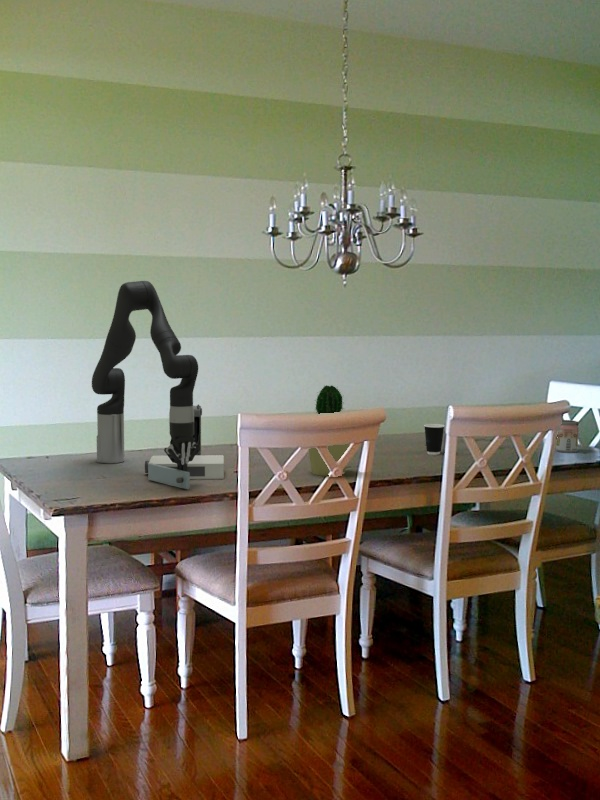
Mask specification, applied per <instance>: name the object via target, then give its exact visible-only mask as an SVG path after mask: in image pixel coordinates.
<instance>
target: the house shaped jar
mask: <svg viewBox="0 0 600 800" xmlns="http://www.w3.org/2000/svg"><path fill="white" fill-rule="evenodd" d="M561 420H562V424H561V426H560V429H559V432H558V438H557V445H556V444H555V450H556V451H557V452H559V453H565V454H573V453H574V454H575V453H577V451H578V449H579V424H580V422H579V421H577V420H571V419H561Z"/></svg>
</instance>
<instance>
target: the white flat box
mask: <svg viewBox="0 0 600 800" xmlns="http://www.w3.org/2000/svg"><path fill="white" fill-rule="evenodd" d="M190 456H191V455H190ZM184 458H185V457H184ZM224 460H225V456H224V455H223V454H221V455H220V454H218V455H217V454H215V455H214V454H213V455H212V454H211V455H209V454H207V455H206V454H205V455H203V454H201V455H195V456H194V458H193V460H192V461H189V462H188V464H187V472H190V480H224V479H225V477H224V476H225V475H224V473H225V467H224V466H225V465H224ZM149 463H153V464H156V465H160V466H165V467H169V468H173V469H177V464H176V463H173V462H172V461H171V460H170V458H169V457H168V455H152V456H151V458H150V460H145V461H144V473H145V474H147V475H148V476H147V480H148V481H150V480H149V473H148V464H149Z"/></svg>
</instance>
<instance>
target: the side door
mask: <svg viewBox="0 0 600 800" xmlns="http://www.w3.org/2000/svg"><path fill="white" fill-rule="evenodd" d="M148 473H149V480H148V481H152V482H157V483H161V484H164V485H169V486H172V487H177V488H181V489H184V490H189V489H191V483H190V482H191V479H190V472H186V471H182V470H178V469H173V468H169V467H165V466H160V465H156V464H153V463H149V464H148ZM148 473H147V474H148Z"/></svg>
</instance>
